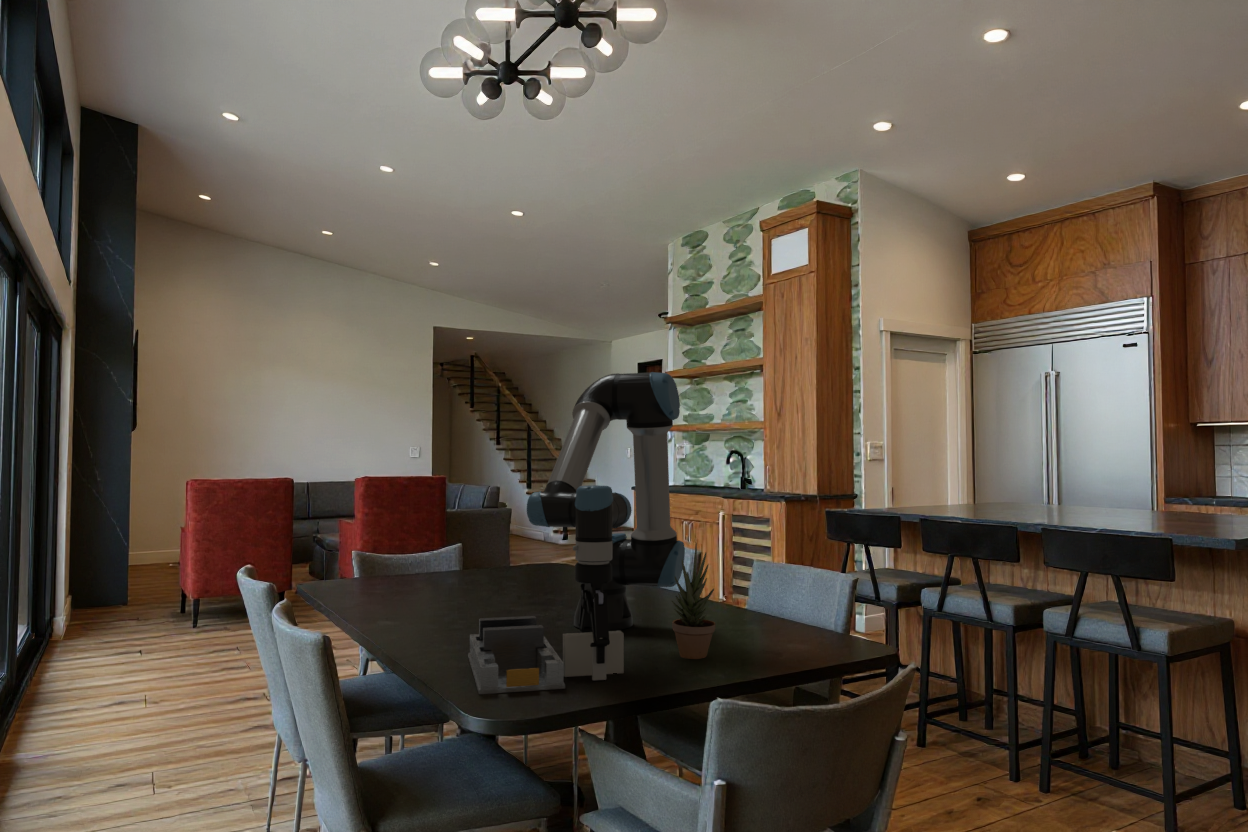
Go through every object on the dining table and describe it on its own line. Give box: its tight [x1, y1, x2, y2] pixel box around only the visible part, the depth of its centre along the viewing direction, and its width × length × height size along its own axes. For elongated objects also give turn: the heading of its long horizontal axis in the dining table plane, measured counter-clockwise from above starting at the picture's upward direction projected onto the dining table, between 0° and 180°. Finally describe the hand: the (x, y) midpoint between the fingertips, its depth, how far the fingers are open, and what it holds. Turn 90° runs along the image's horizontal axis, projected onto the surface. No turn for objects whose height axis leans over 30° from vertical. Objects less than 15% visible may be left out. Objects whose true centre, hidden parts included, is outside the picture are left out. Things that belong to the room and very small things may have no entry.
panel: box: [562, 630, 625, 678], centre depth 168 cm, size 3×12×8 cm, turn 105°
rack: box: [467, 615, 566, 695], centre depth 169 cm, size 29×16×9 cm, turn 14°
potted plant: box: [671, 542, 716, 660], centre depth 183 cm, size 10×10×25 cm
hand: (592, 672), depth 167 cm, fingers open, 11 cm apart
